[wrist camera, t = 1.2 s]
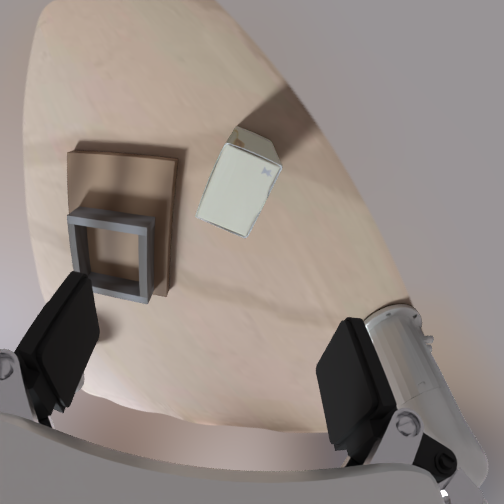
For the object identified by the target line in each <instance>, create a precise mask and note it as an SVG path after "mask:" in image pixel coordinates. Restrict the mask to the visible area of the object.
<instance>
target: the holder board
mask: <svg viewBox="0 0 504 504" xmlns="http://www.w3.org/2000/svg"><path fill="white" fill-rule="evenodd" d="M177 165H178V159H176V158H167V157H158V156H149V155H138V154H127V153H114V152H98V151H78V150H73V151H71V152H68V153H67V185H68V206H69V214H68V215H67V222H68V232H69V241H70V249H71V256H72V263H73V269H74V271H76V272H80V273H84V274H87V276H88V279H91V281H92V288H93V292H94V293H98V294H102V295H107V296H111V297H115V298H120V299H125V300H129V301H134V302H139V303H144V304H148V303H149V300H150V298H151V296H152V294H153V295H158V296H164V297H167V294H168V291H169V271H170V249H171V232H172V218H173V205H174V194H175V183H176V174H177Z"/></svg>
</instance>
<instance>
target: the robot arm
mask: <svg viewBox="0 0 504 504" xmlns="http://www.w3.org/2000/svg"><path fill="white" fill-rule="evenodd" d="M421 327H422V320H421V316H420V314H419V313H418V311H417V310H416V309H415V308H414V307H412V306H410V305H406V304H397V305H392V306H388V307H385V308H383V309H380V310H379V311H377V312H375V313H373V314H372V315H371V316H369V317H368V318H367V319H366V320H365V321H363V320H362V319H361V318H351V317H347V318H346V319H345V320H344V321H341V323H340V324H339V326H338V328H337V330H336V332H335V334H334V335H333V337H332V339H331V341H330V343H329V344H328V346H327V348H326V350H325V352H324V353H323V355H322V357H321V359H320V360H319V362H318V364H317V366H316V375H317V379H318V384H319V389H320V394H321V399H322V403H323V408H324V413H325V418H326V423H327V429H328V434H329V439H330V442H331V444H334V447H335V451H337V450H347V452H348V457H347V458H346V460H345V461H344V463H343V465H342V466H341V468H332V469H319V470H305V471H276V472H275V471H240V470H225V469H214V468H205V467H197V466H189V465H182V464H176V463H171V462H165V461H159V460H155V459H150V458H145V457H141V456H137V455H132V454H128V453H124V452H121V451H117V450H114V449H110V448H107V447H103V446H100V445H97V444H94V443H91V442H88V441H85V440H82V439H79V438H76V437H73V436H71V435H68V434H65V433H63V432H60V431H58V430H56V429H55V427H54V424H53V422H52V419H51V416H50V415H51V414H52V411H53V409H54V410H57V411H59V412H62V413H64V410H65V407H69V406H70V404H71V402H72V400H73V397H74V394H75V392H76V389H77V387H78V384H79V382H80V380H81V377H82V375H83V372H84V370H85V368H86V365H87V363H88V361H89V358H90V356H91V354H92V352H93V349H94V347H95V345H96V343H97V341H98V338H99V334H100V330H99V325H98V319H97V314H96V308H95V301H94V295H93V288H92V281H91V279H88V276H87V274H84V273H80V272H76V271H72V272H71V273H70V274H69V275H68V276H67V278H66V279H65V280H64V282H63V283H62V284H61V286H60V287H59V288H58V290H57V291H56V292H55V294H54V295H53V296H52V298H51V299H50V301H49V302H47V303H46V305H45V306H44V307H43V309H42V310H41V312H40V313H39V315H38V316H37V318H36V319H35V320H34V322H33V324H32V325H31V327H30V328H29V329H28V331H27V333H26V334H25V336H24V337H23V339H22V340H21V342H20V344H19V345H18V347H17V349H16V350H15V352H12V351H10V350H7V349H0V504H489V503H488V502H487V501H486V500H485V499H484V497H483V493H482V491H481V490H480V489H479V487H480V485H481V484H482V483H483V481H484V480H485V478H486V476H487V473H488V460H487V457H486V454H485V452H484V450H483V448H482V447H481V445H480V443H479V442H478V440H477V439H476V437H475V436H474V434H473V432H472V431H471V430H470V428H469V426H468V424H467V422H466V421H465V419H464V417H463V415H462V414H461V411H460V409H459V407H458V405H457V403H456V401H455V399H454V397H453V396H452V393H451V391H450V389H449V387H448V385H447V383H446V381H445V379H444V377H443V375H442V373H441V371H440V369H439V367H438V365H437V363H436V362H435V360H434V358H433V356H432V354H431V352H432V346H431V345H426V343H432V342H433V340H434V339H433V336H424V334H423V332H422V331H421Z"/></svg>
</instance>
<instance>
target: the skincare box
mask: <svg viewBox="0 0 504 504" xmlns="http://www.w3.org/2000/svg"><path fill="white" fill-rule="evenodd" d="M281 170H282V164H281V162H280V160H279V157H278V155H277V153H276V150H275V148H274V146H273V143H272V141H270V140H268V139H266V138H264V137H262V136H260V135H258V134H256V133H253V132H251V131H249V130H246V129H244V128H241V127H238V126H236V127H235V129H234V130H233V132H232V134H231V135H230V137H229V139H228V140H227V142H226V143H225V145H224V147H223V149H222V151H221V153H220V155H219V157H218V159H217V161H216V163H215V165H214V168H213V170H212V172H211V175H210V177H209V180H208V182H207V185H206V187H205V190H204V193H203V195H202V198H201V201H200V204H199V207H198V210H197V212H196V218H198V219H201V220H203V221H205V222H207V223H210V224H212V225H214V226H216V227H219V228H221V229H224V230H226V231H228V232H230V233H233V234H235V235H238V236H240V237H243V238H246V237H248V236H249V234H250V232H251V230H252V228H253V226H254V224H255V222H256V220H257V218H258V216H259V214H260V212H261V210H262V208H263V206H264V204H265V202H266V200H267V198H268V196H269V194H270V192H271V190H272V188H273V186H274V184H275V182H276V180H277V178H278V175H279V173H280V172H281Z"/></svg>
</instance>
